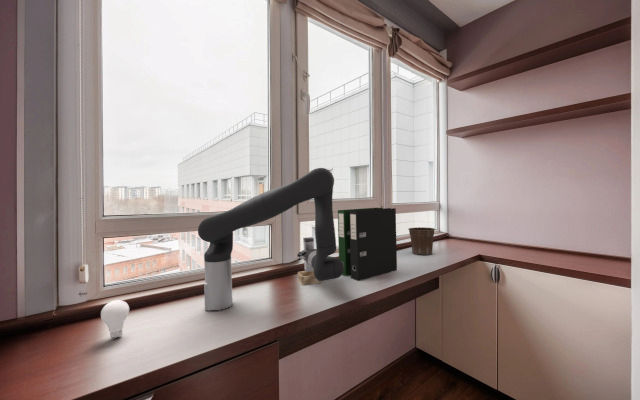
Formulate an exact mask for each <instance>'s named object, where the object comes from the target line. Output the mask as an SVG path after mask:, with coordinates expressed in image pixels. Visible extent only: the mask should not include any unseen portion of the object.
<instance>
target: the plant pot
mask: <svg viewBox="0 0 640 400" xmlns="http://www.w3.org/2000/svg"><path fill="white" fill-rule="evenodd" d="M435 230H436V229H435V227H420V226H419V227H409V228H408V232H409V237H410V243H411V252H412V254H414V255H417V256H419V255H421V256H430V255H432V254H433V249H434V248H433V247H434V245H433V244H434V235H435Z"/></svg>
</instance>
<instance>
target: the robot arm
mask: <svg viewBox="0 0 640 400" xmlns="http://www.w3.org/2000/svg"><path fill="white" fill-rule="evenodd" d="M334 185H335V178H334V175H333V173H332V172H331V171H330V170H329V169H328V168H324V167H317V168H314V169H312V170H310V171H309V172H307V173H306V174H304V175H303V176H301V177H299V178H298V179H295V180H294V181H292V182H290V183H288V184H284V185H281V186H278V187H276V188H275V187H274V188H271V189H269V190H266V191H264V192H262V193H260V194H257V195H256V196H253V197H251V198H249V199H248V200H245V201H244V202H242V203H240V204H238V205H236V206H234V207H233V208H231V209H228V210H227V211H224V212H221V213H218V214H215V215H212V216H208V217H206V218H204V219H203V220H202V221H201V222H200V223H199V225H198V227H197V228H198V229H197V234H198V237H199V238H200V239H201V240H202V241H204V242H205V243H206V242H207V243H209V246H208V248H207V250H206V251H205V252H204V255H203V260H204V261H203V262H204V265H203V266H204V284H203V287H204V288H203V290H204V292H203V293H204V294H203V295H204V311H211V310H218V311H222V310H221V309H223V310H226V309H229V308H231V307H232V306H233V274H232V252H233V249H234V248H233V247H234V232H235V231H237V230H239V229H242V228H247V227H250V226H253V225H257V224H260V223H262V222H266V221H268V220H270V219H272V218H274V217H276V216H277V217H278V216H279V215H281V214H283V213H284V212H286V211H289V210H290V209H291V208H293V207H294V206H297V205H299V204H302V203H304V202H307V201H309V200H313V202H314V213H315V214H314V215H315V217H314V219H315V221H314V236H315V247H316V248H314V249H312V250H310V251H309V252H308V251H304V249H303V250H301V251H299V252H298V253H297V261H298V262H299V261H301V260H302V259H303V261H304V260H306V262H307V263H308V265H309V266H310V267H311V268H313V269H314V276H315V278H316V279H317V280H318V281H321V282H325V281H330V280H331V281H332V280H334V279H339V278H341V277H342V276H343V275H342V274H343V271H344V268H343V264H342V262H341V261H340V260H339V257H335V256H330V255H333V254H335V253H336V252H337V239H336V228H335V221H334V213H333V212H334V211H333V209H334V208H333V193H334ZM231 305H232V306H231ZM228 307H229V308H228ZM225 308H226V309H225ZM208 309H209V310H208Z"/></svg>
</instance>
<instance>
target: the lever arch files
mask: <svg viewBox="0 0 640 400" xmlns="http://www.w3.org/2000/svg"><path fill="white" fill-rule="evenodd" d="M396 211H397V208H396V207H394V208H392V207H388V208H387V207H386V208H383V207H368V208H367V207H366V208H365V207H364V208H355V209H354V208H353V209H337V232H338V233H337V235H338V236H337V240H338V259H339V260H340V261H341V262H342V264H343V268H344V271H343V274H342V276H344V277H348V276H350V278H351V279H353V280H355V281H357V282H360V281H363V280H367V279H371V278H374V277H378V276H381V275H385V274H389V273H392V272H395V271H397V270H398V258H397V254H398V253H397V212H396Z"/></svg>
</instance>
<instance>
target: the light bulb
mask: <svg viewBox="0 0 640 400" xmlns="http://www.w3.org/2000/svg"><path fill="white" fill-rule="evenodd" d="M129 312H130V306H129V304H128V303H127V302H126V301H125V300H121V299H115V300H112V301H109V302H108V303H106V304H105V305H104V306H103V307H102V309H101V311H100V318H101V320H102V322H103V323H104V324H105V325H106V327H107V329H108V332H109V337H110V339H113V338H117V337H119V338H120V337H122V336H123V334H124V333H123V328H124V323H125V322H126V319H127V317H128V316H129ZM117 339H118V338H117Z"/></svg>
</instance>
